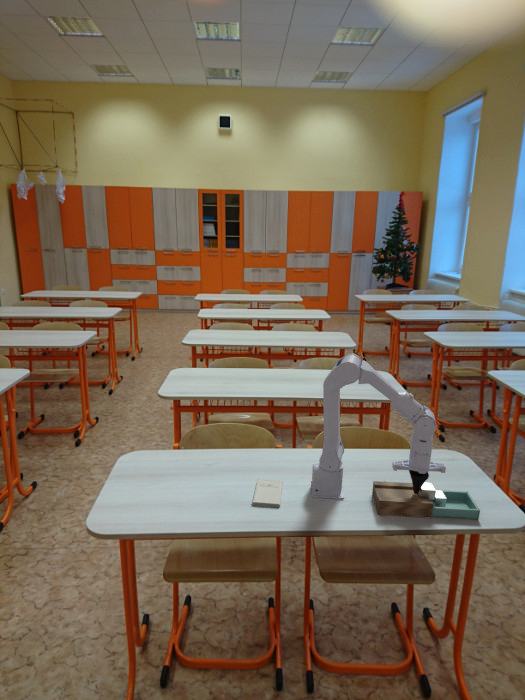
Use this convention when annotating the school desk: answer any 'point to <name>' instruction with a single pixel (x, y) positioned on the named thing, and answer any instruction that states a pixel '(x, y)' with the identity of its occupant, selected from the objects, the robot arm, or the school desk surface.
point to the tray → (457, 506)
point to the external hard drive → (268, 493)
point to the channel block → (400, 500)
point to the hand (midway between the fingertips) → (415, 492)
